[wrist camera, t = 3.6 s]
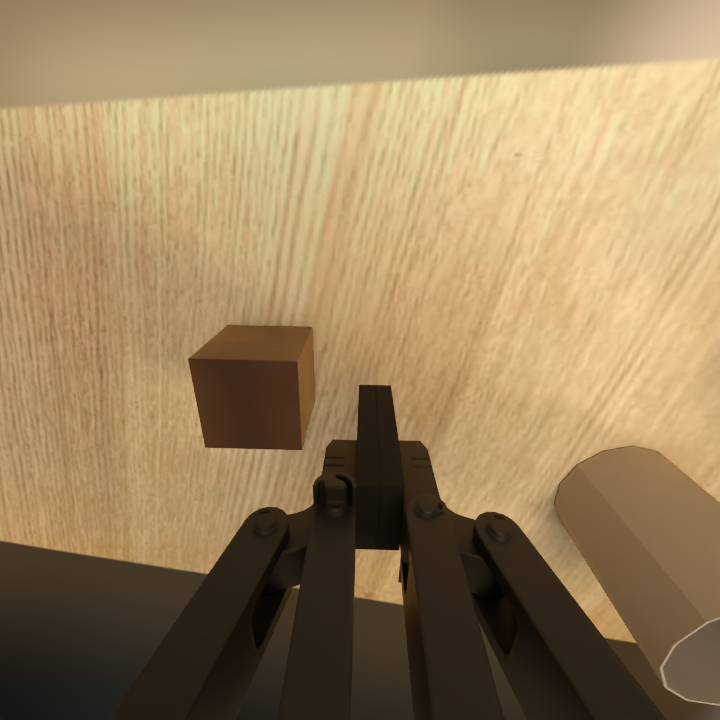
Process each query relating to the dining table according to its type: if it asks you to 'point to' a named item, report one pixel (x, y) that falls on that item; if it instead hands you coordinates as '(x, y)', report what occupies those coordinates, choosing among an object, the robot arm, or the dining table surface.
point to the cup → (653, 559)
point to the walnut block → (255, 387)
